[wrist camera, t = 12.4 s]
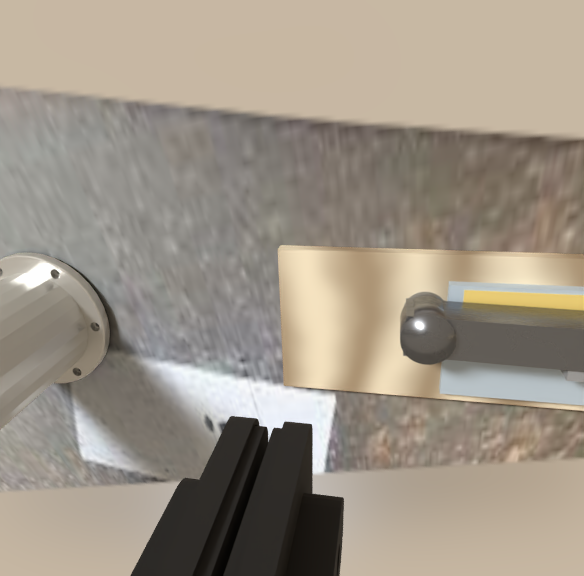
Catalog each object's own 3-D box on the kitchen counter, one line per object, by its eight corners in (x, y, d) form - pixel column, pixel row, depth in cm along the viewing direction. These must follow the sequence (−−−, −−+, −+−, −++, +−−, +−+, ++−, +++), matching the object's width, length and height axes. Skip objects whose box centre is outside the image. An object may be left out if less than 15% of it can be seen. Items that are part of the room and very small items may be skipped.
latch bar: (398, 338, 38) (398, 365, 34) (402, 294, 36) (402, 317, 33) (613, 356, 35) (637, 388, 31) (626, 309, 34) (652, 336, 30)
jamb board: (286, 379, 44) (283, 385, 43) (280, 245, 39) (277, 249, 38) (607, 405, 39) (612, 413, 38) (643, 256, 34) (649, 260, 33)
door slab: (439, 387, 40) (442, 418, 36) (448, 281, 36) (454, 303, 33) (600, 400, 38) (621, 435, 34) (626, 288, 34) (653, 313, 31)
